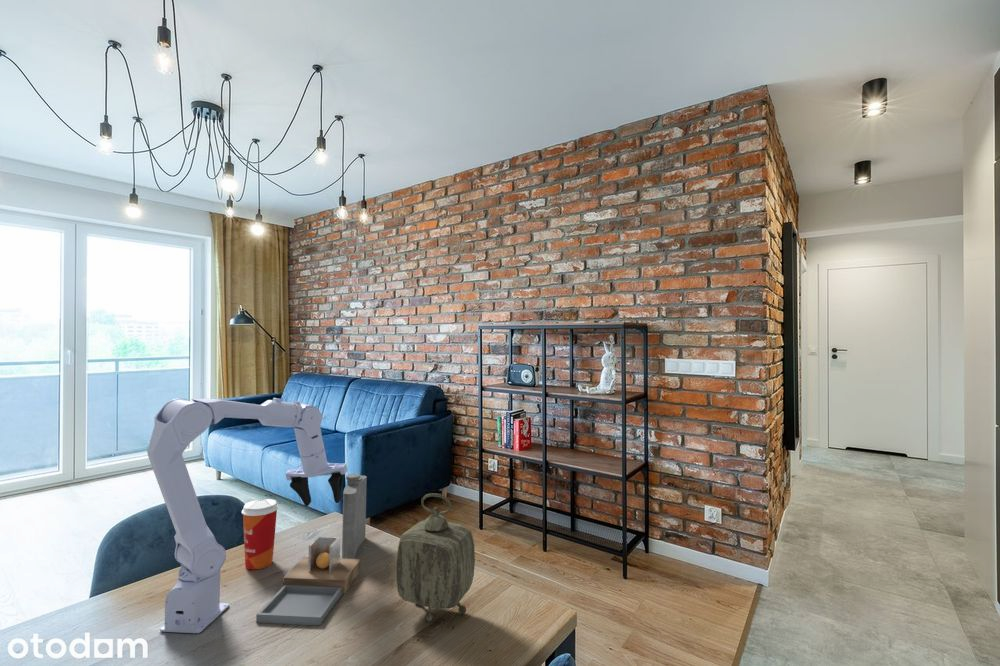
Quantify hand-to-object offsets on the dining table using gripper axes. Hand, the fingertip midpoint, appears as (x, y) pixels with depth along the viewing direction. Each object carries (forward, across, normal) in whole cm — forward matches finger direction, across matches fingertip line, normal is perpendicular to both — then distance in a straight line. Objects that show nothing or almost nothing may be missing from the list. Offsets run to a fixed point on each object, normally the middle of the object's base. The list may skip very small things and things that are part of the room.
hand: (323, 502), depth 117 cm
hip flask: (+18, -2, -6) cm, 19 cm away
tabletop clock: (+16, -29, +22) cm, 39 cm away
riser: (+14, -1, +10) cm, 17 cm away
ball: (+10, -2, +9) cm, 13 cm away
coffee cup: (+13, +18, +3) cm, 23 cm away
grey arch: (+12, -1, +9) cm, 15 cm away
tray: (+12, -1, +20) cm, 24 cm away
